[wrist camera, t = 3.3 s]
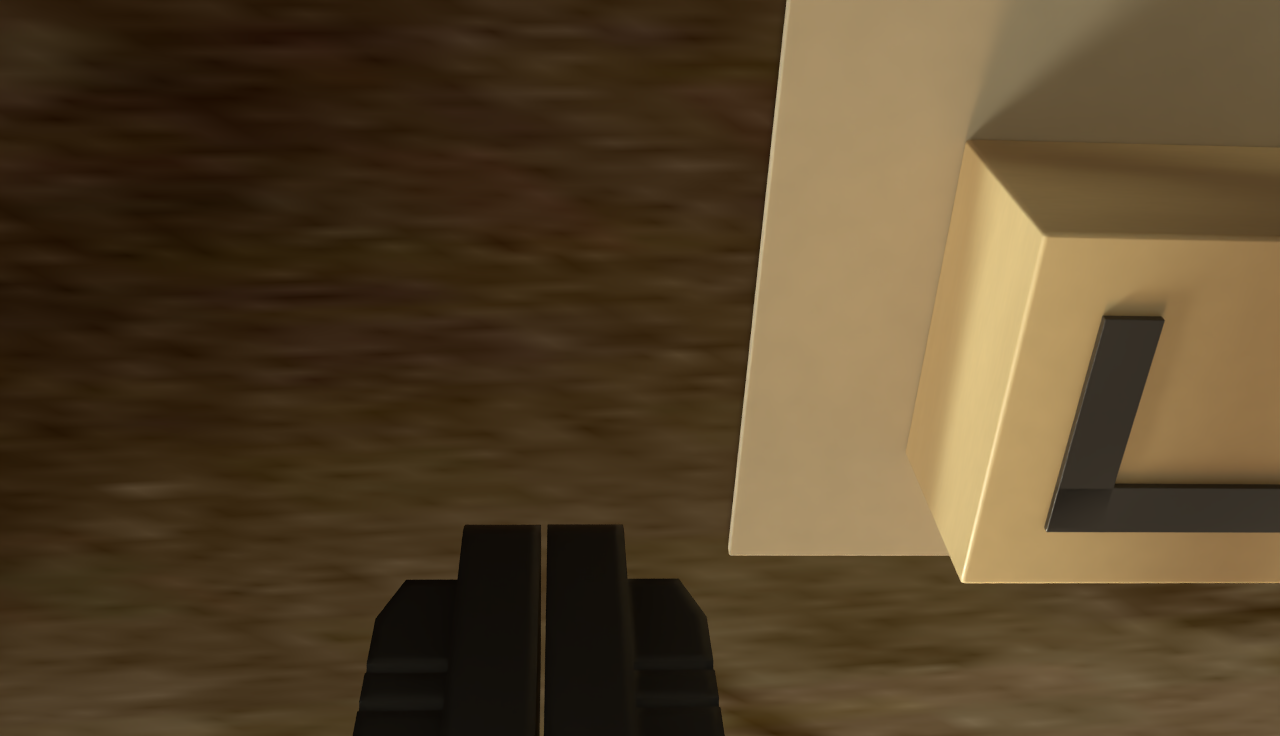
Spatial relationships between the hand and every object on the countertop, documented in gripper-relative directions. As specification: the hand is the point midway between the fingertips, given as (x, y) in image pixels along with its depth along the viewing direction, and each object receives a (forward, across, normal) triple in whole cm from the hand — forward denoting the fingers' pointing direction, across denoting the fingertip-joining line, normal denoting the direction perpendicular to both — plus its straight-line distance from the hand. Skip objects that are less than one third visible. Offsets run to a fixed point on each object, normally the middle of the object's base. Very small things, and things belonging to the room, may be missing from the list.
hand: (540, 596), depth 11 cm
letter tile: (+6, -8, 0) cm, 10 cm away
